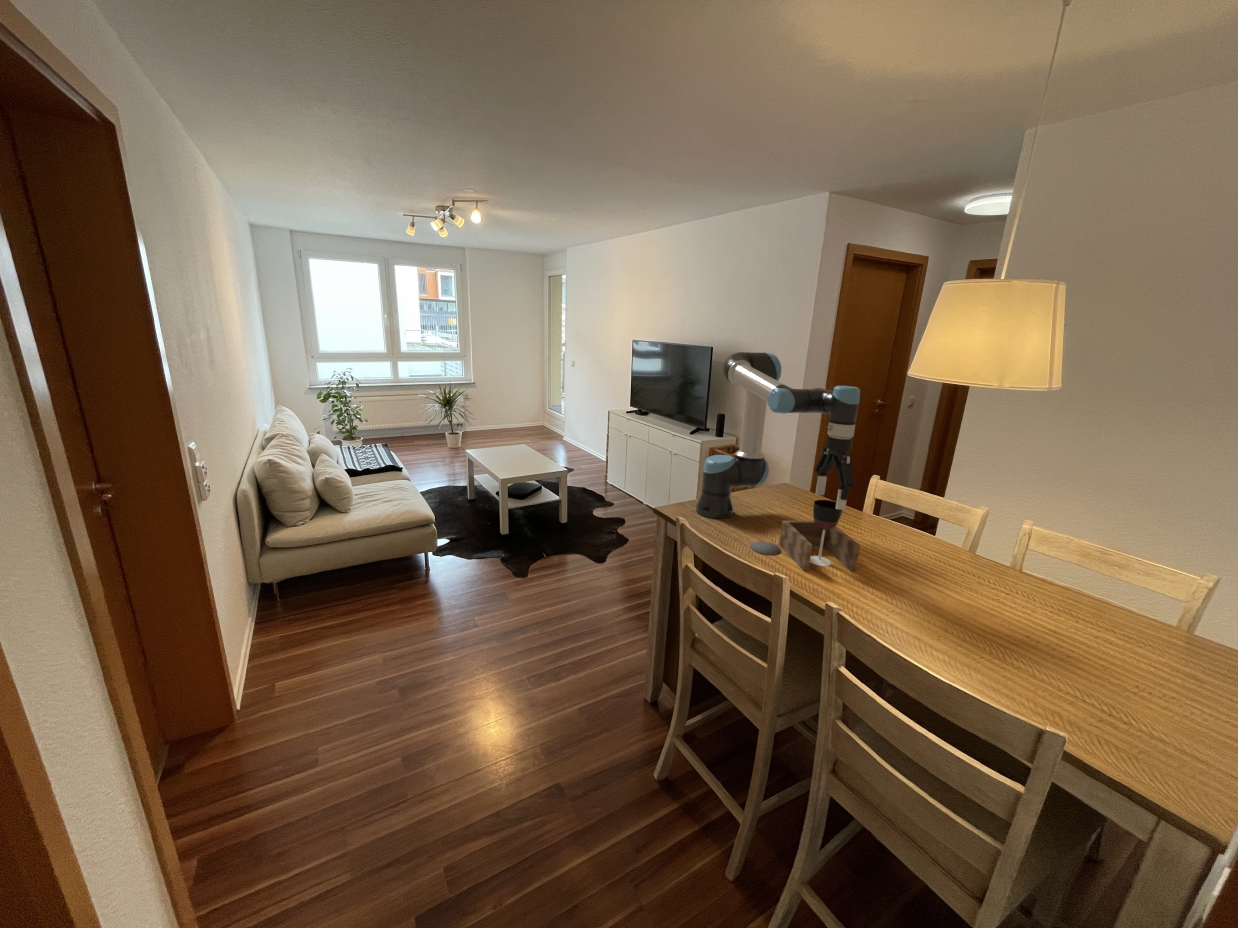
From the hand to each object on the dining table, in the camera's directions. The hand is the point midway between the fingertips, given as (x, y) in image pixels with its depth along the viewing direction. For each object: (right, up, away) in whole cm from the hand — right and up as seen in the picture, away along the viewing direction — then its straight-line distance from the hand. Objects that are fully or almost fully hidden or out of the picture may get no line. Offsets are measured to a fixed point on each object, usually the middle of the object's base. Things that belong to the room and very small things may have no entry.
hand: (829, 501), depth 158 cm
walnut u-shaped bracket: (-1, -19, +9) cm, 21 cm away
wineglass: (-1, -20, +6) cm, 21 cm away
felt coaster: (-17, -17, +13) cm, 27 cm away
